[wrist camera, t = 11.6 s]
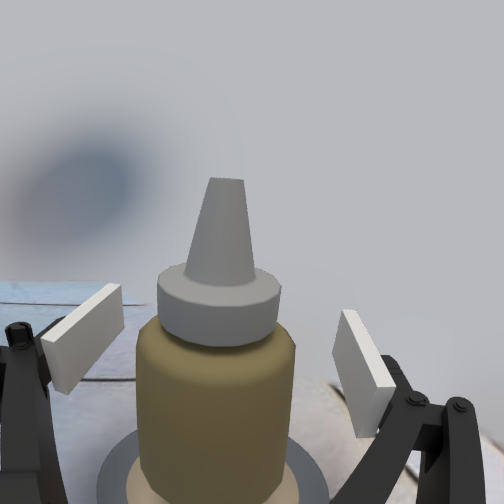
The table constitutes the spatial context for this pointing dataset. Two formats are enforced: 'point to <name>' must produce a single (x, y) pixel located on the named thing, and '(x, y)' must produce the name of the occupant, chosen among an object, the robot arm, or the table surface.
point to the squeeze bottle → (215, 368)
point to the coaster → (146, 500)
